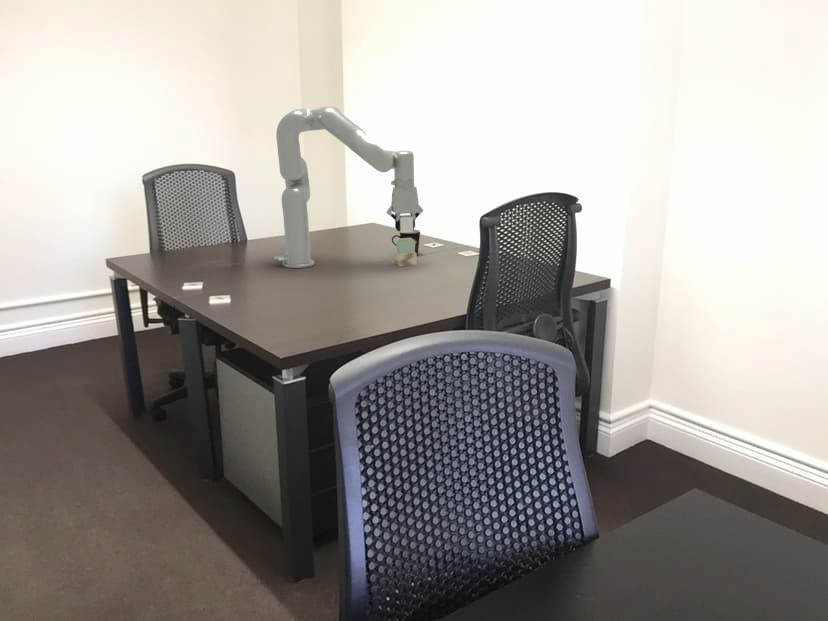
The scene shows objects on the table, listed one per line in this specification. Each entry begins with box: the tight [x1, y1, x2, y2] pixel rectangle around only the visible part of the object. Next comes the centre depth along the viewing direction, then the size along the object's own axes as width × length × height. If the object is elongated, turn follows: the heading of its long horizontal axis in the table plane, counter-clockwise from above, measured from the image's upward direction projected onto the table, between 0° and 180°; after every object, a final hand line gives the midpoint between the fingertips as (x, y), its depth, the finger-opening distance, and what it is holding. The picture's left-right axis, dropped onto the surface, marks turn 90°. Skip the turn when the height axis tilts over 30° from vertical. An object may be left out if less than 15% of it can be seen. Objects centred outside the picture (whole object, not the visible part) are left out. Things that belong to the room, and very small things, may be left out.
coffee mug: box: [391, 229, 421, 256], centre depth 305 cm, size 12×9×10 cm
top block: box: [398, 214, 413, 234], centre depth 286 cm, size 5×5×6 cm
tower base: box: [394, 250, 418, 267], centre depth 290 cm, size 7×7×5 cm
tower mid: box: [395, 237, 415, 254], centre depth 289 cm, size 6×6×5 cm
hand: (405, 229), depth 287 cm, fingers closed on top block, 4 cm apart
